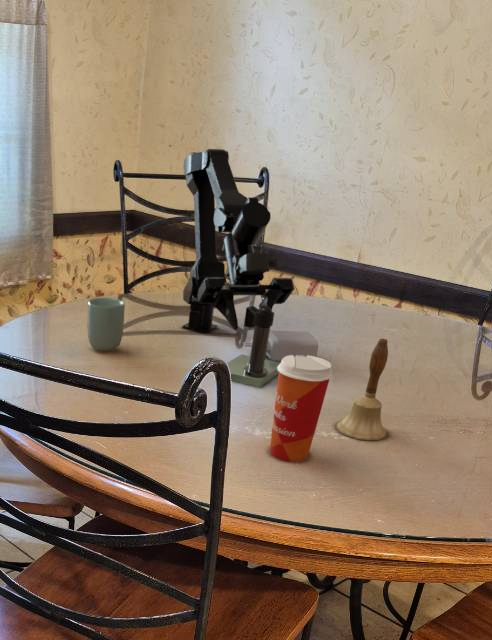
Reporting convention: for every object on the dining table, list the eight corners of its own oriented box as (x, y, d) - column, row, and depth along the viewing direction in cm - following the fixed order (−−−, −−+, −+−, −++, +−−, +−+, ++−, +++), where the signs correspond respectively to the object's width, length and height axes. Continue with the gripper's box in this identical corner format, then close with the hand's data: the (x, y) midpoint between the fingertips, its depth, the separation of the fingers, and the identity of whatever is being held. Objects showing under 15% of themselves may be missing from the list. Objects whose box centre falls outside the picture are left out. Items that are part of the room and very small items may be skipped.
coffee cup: (257, 442, 117) (272, 352, 109) (305, 443, 118) (324, 353, 110) (270, 465, 110) (287, 371, 102) (322, 465, 111) (343, 372, 103)
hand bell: (389, 443, 119) (415, 349, 111) (338, 437, 120) (360, 344, 112) (382, 424, 126) (406, 334, 118) (334, 419, 127) (354, 329, 119)
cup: (118, 356, 152) (120, 308, 146) (83, 352, 153) (84, 304, 147) (125, 345, 158) (127, 299, 153) (91, 341, 159) (92, 295, 154)
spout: (272, 340, 137) (278, 308, 134) (255, 341, 136) (260, 308, 133) (255, 326, 145) (259, 296, 141) (238, 326, 144) (242, 295, 141)
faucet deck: (240, 360, 153) (248, 308, 147) (283, 370, 149) (292, 317, 143) (215, 376, 143) (221, 321, 138) (259, 387, 139) (268, 331, 134)
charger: (238, 349, 160) (303, 351, 161) (246, 362, 152) (315, 364, 153) (241, 327, 158) (307, 330, 159) (249, 340, 150) (319, 342, 151)
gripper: (208, 233, 136) (219, 307, 132) (299, 235, 139) (312, 307, 136) (192, 267, 146) (202, 337, 143) (277, 268, 150) (288, 336, 147)
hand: (251, 329), depth 142 cm, fingers open, 6 cm apart
